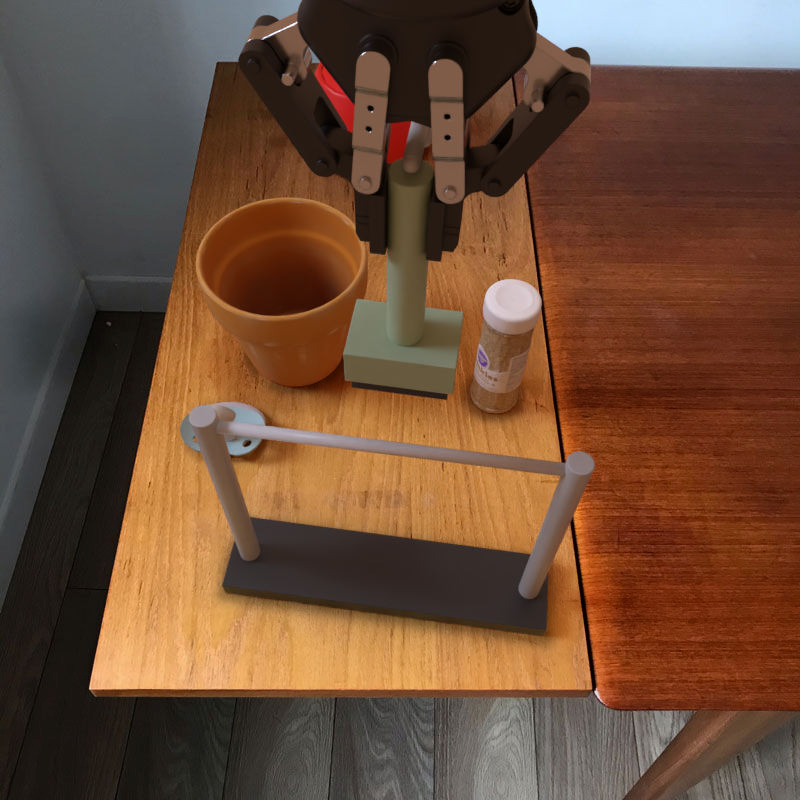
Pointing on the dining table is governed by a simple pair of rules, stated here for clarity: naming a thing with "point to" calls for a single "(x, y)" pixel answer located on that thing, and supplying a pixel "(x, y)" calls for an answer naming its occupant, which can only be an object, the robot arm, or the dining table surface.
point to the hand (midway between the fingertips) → (408, 244)
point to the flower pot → (285, 284)
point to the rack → (389, 543)
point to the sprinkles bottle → (504, 344)
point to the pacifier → (234, 414)
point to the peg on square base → (405, 296)
